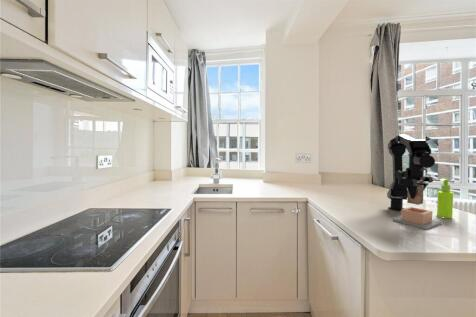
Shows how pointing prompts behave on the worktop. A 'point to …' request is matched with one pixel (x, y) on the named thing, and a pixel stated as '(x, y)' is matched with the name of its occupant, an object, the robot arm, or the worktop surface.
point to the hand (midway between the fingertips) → (415, 197)
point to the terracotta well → (417, 218)
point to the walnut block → (417, 196)
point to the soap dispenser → (445, 200)
